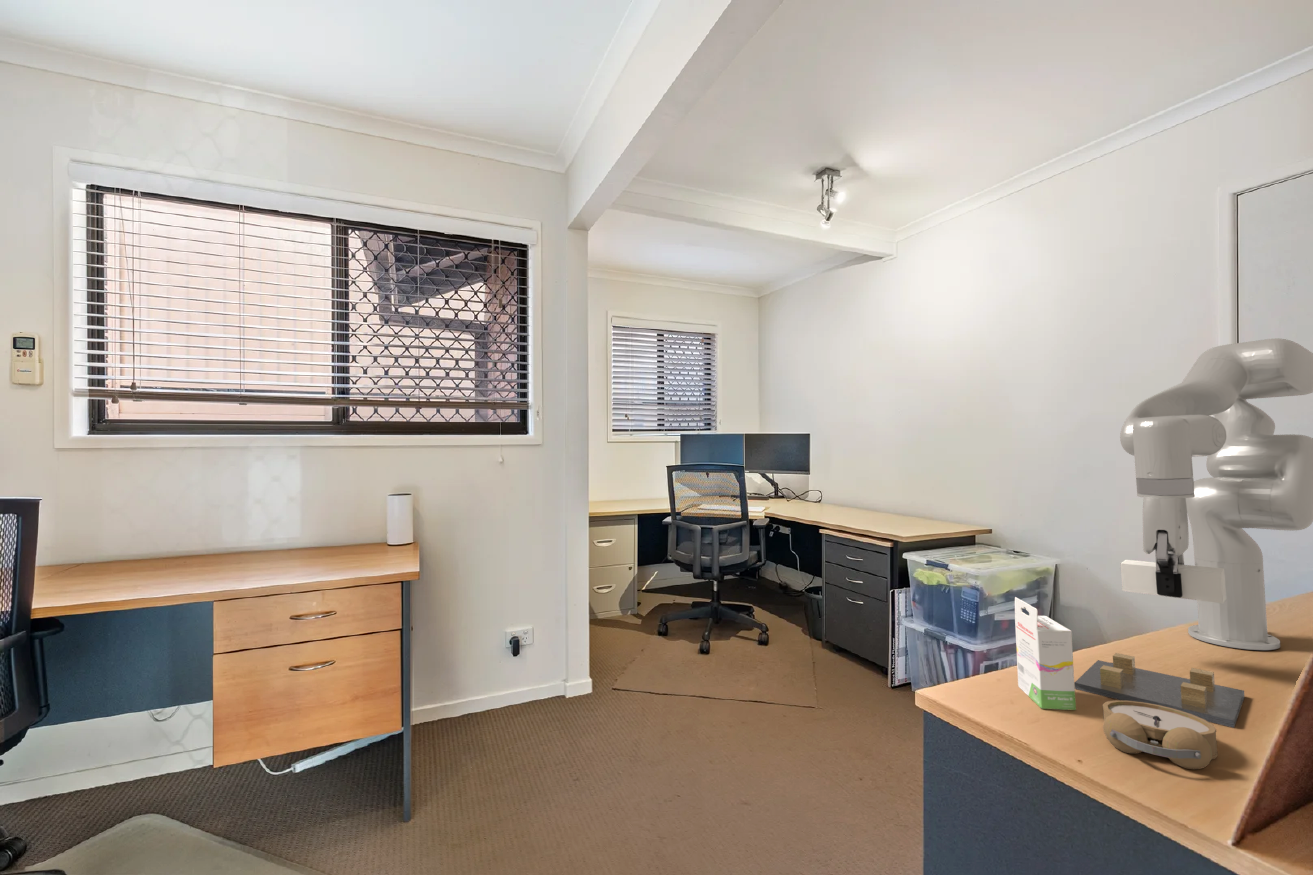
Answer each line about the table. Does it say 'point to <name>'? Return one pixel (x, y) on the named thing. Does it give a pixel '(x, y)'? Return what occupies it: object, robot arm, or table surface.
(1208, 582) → the white rectangular block
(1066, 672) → the ink box
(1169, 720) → the alarm clock
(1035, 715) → the table surface
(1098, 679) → the cradle jig
